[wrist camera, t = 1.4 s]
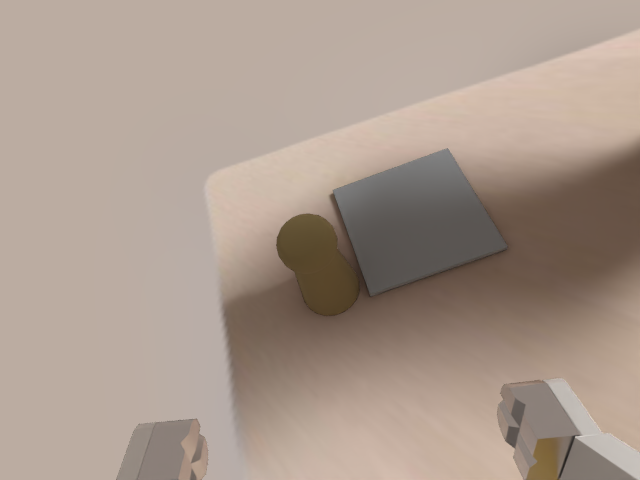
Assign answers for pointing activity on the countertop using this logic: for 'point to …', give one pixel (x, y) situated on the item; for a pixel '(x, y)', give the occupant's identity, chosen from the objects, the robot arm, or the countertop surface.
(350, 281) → the olive chess pawn
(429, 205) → the plate
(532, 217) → the countertop surface
